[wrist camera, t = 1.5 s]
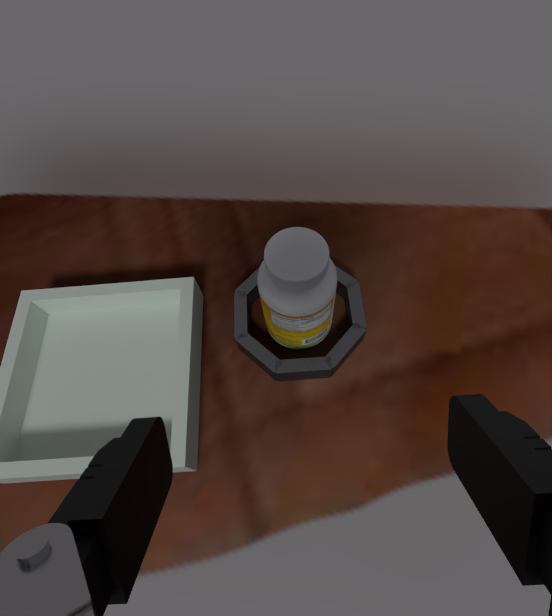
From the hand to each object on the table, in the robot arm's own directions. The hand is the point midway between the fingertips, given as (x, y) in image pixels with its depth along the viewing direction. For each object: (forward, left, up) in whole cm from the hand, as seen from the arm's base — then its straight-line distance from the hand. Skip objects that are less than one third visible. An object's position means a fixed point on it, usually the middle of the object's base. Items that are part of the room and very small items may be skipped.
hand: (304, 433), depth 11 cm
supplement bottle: (0, +12, -18) cm, 22 cm away
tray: (-15, +8, -18) cm, 24 cm away
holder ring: (0, +12, -18) cm, 21 cm away
